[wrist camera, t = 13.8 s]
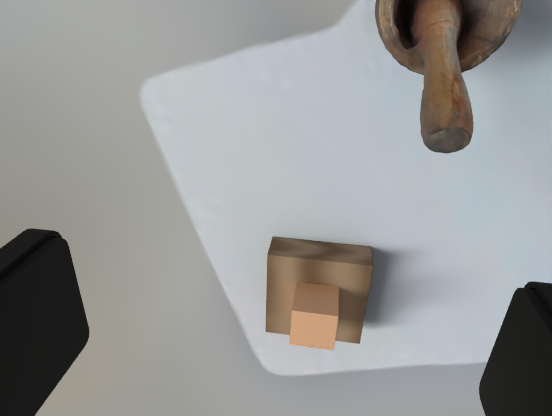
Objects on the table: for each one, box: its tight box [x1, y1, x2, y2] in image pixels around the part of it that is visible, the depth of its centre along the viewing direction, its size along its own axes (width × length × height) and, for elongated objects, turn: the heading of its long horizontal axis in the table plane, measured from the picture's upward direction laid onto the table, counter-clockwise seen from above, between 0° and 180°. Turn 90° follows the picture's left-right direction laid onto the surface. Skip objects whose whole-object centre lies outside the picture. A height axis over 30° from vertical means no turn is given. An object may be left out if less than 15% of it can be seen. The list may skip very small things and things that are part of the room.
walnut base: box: [266, 237, 373, 344], centre depth 51 cm, size 12×12×4 cm
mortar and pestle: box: [375, 0, 523, 153], centre depth 29 cm, size 12×9×20 cm
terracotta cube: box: [289, 282, 339, 350], centre depth 47 cm, size 5×5×5 cm
